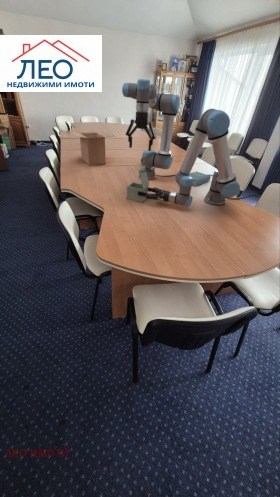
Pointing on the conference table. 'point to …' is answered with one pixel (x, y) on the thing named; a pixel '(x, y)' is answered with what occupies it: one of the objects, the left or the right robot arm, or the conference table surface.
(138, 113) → the left robot arm
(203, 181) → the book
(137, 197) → the chest
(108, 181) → the conference table surface
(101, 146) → the box
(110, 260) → the conference table surface
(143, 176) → the lid
